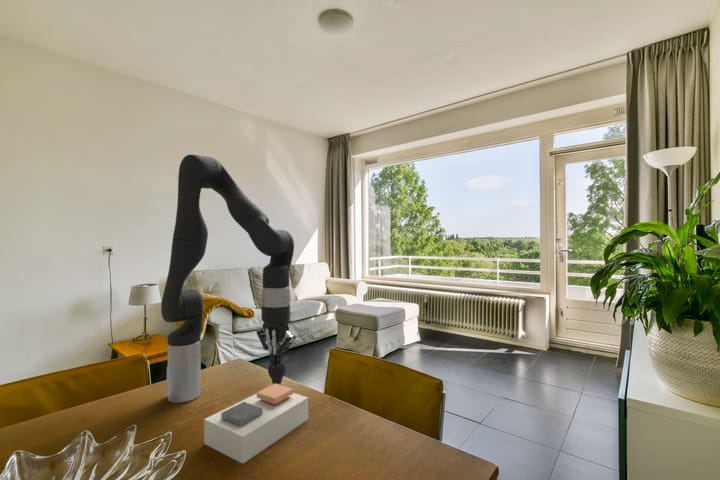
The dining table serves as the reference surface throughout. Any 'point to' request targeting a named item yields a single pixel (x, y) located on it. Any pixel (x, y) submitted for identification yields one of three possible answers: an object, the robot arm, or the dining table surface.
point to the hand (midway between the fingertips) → (275, 366)
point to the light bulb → (277, 373)
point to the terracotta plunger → (275, 394)
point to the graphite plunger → (241, 414)
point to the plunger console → (255, 427)
